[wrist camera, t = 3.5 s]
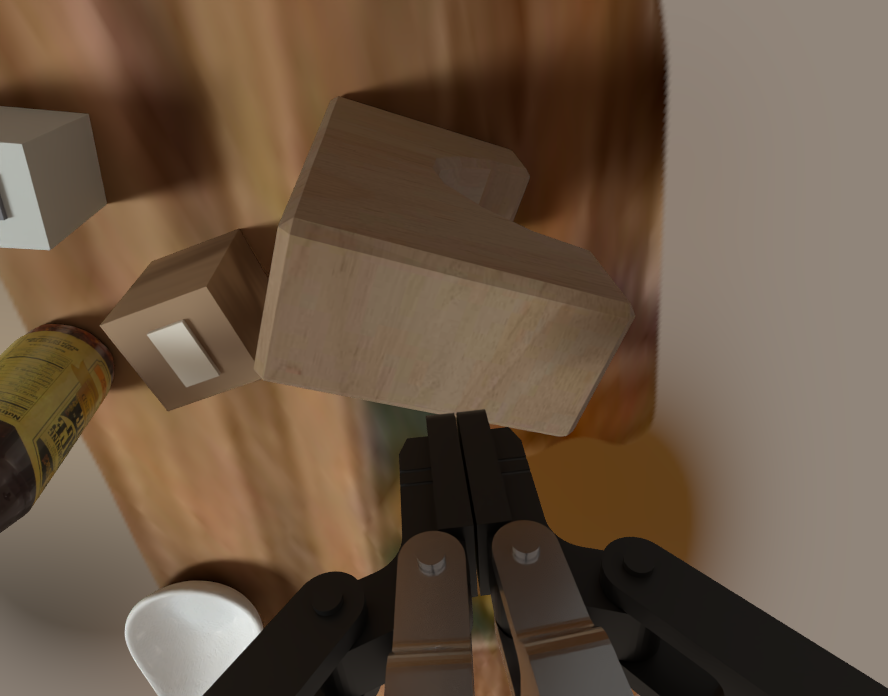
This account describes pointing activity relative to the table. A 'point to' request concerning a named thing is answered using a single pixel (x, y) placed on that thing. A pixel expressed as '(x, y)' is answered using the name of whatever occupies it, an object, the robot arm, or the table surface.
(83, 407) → the sauce bottle
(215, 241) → the walnut marked block
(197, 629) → the spoon rest
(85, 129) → the grey marked block
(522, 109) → the table surface
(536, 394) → the decorative block
